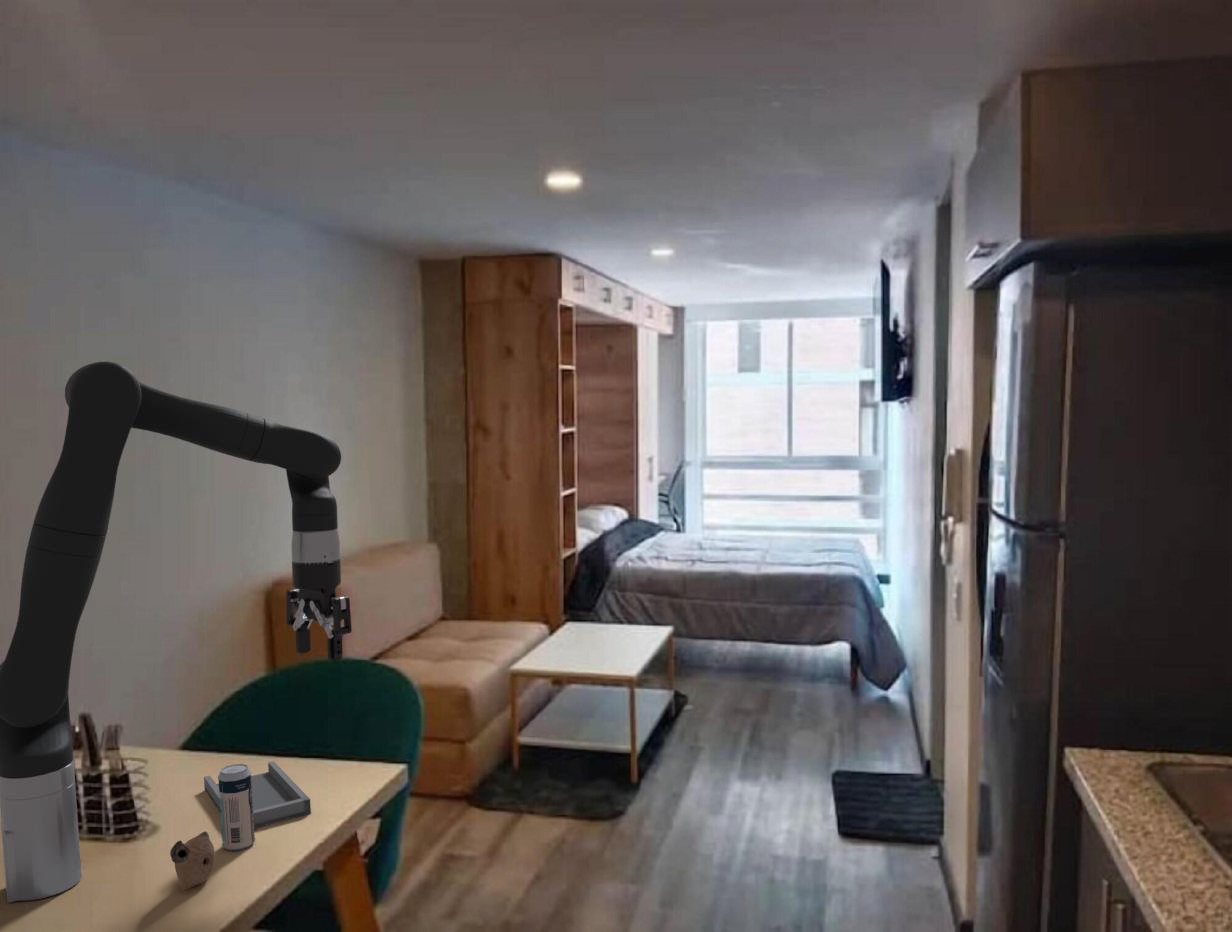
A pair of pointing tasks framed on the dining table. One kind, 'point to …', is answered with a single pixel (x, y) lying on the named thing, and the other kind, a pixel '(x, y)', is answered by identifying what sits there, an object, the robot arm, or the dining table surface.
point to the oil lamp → (193, 860)
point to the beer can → (236, 807)
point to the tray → (269, 796)
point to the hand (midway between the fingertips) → (319, 656)
